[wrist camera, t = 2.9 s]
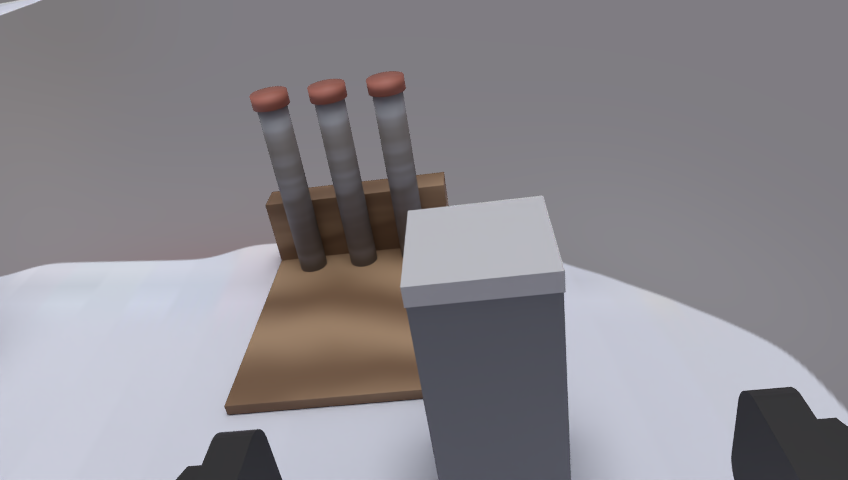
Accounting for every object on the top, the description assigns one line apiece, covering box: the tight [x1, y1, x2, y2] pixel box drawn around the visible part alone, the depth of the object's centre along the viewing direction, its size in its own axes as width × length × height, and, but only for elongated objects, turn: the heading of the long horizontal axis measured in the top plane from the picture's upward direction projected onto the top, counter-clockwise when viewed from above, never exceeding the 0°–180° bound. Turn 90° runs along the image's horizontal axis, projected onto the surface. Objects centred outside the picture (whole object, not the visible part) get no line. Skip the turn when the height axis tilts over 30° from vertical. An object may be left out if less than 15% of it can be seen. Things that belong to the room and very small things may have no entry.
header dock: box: [224, 71, 448, 415], centre depth 37 cm, size 16×12×13 cm
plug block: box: [400, 196, 571, 480], centre depth 25 cm, size 5×5×12 cm
